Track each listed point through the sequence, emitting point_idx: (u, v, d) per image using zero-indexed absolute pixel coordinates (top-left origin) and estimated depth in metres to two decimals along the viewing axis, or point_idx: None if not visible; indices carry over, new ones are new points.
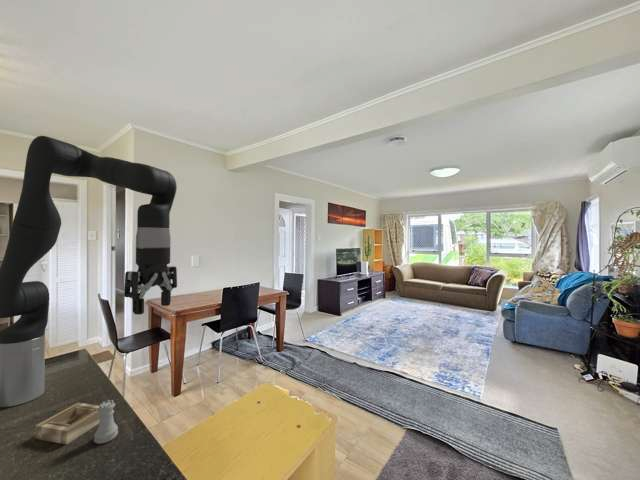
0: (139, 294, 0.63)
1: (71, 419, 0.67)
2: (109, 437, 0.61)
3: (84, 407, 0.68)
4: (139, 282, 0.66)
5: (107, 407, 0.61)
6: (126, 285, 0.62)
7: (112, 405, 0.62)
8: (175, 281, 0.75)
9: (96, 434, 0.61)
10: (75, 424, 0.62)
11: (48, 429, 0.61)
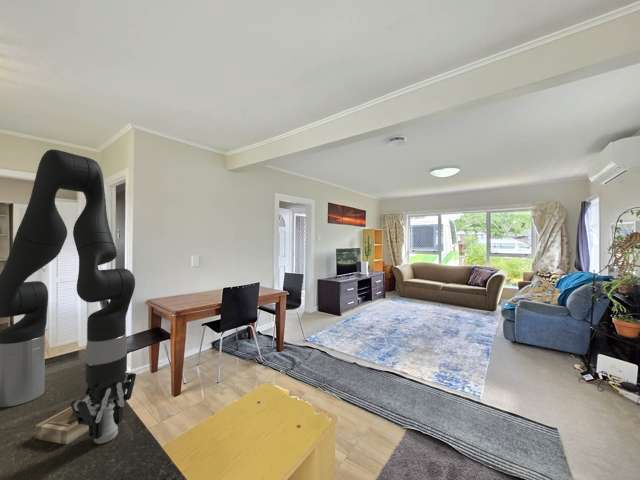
0: (95, 418, 0.59)
1: (71, 419, 0.67)
2: (109, 437, 0.61)
3: None
4: None
5: (107, 407, 0.61)
6: (76, 415, 0.57)
7: (112, 405, 0.62)
8: (130, 391, 0.67)
9: None
10: (75, 424, 0.62)
11: (48, 429, 0.61)
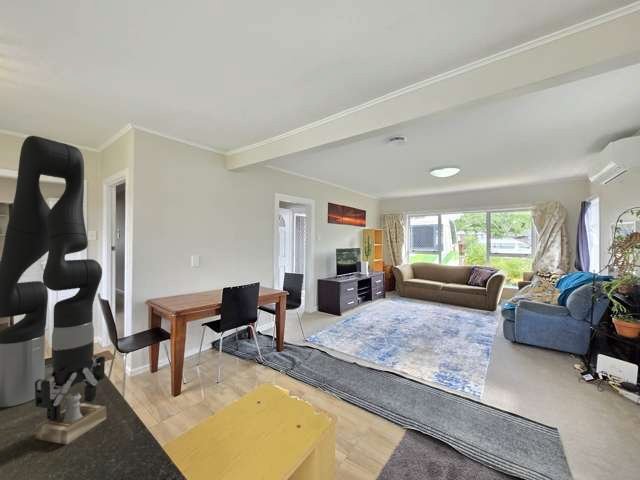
0: (53, 401, 0.61)
1: None
2: None
3: (84, 407, 0.68)
4: (56, 384, 0.63)
5: (72, 399, 0.64)
6: (36, 395, 0.59)
7: (78, 397, 0.65)
8: (102, 372, 0.71)
9: None
10: (75, 424, 0.62)
11: (48, 429, 0.61)
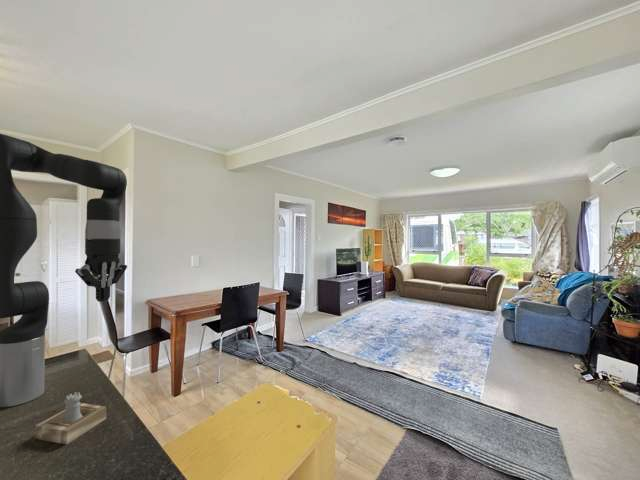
0: (101, 283, 0.72)
1: None
2: None
3: (84, 407, 0.68)
4: None
5: (73, 399, 0.64)
6: (84, 279, 0.69)
7: (78, 397, 0.65)
8: (118, 277, 0.77)
9: None
10: (75, 424, 0.62)
11: (48, 429, 0.61)
